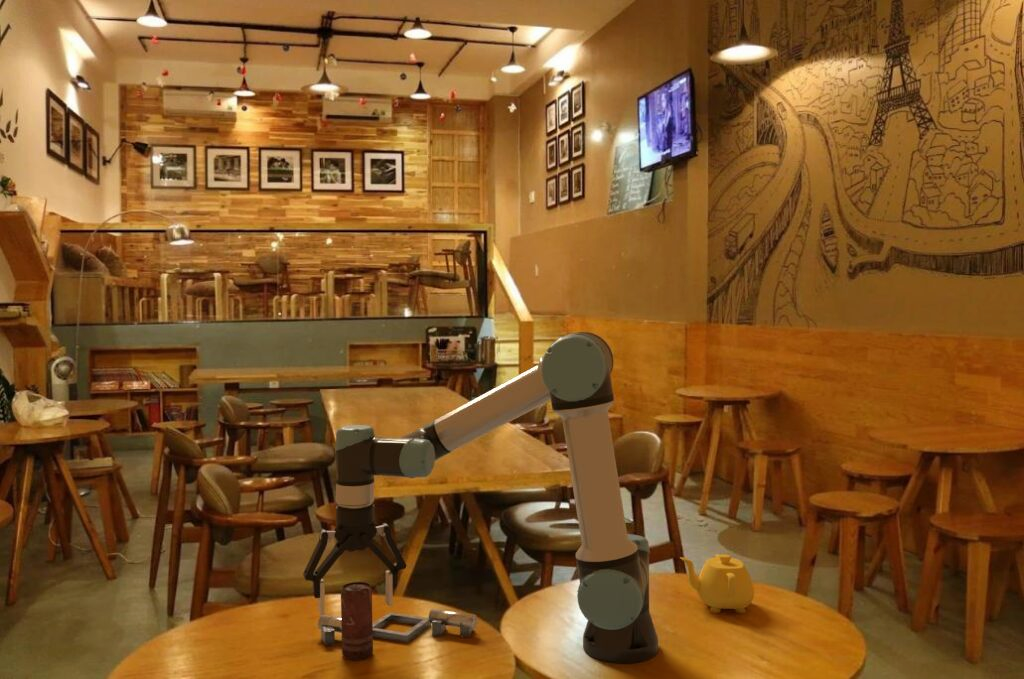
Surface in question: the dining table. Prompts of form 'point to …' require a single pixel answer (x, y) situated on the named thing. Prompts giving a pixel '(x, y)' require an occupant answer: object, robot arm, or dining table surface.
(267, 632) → the dining table surface
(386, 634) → the coupling rig
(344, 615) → the can
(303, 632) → the dining table surface
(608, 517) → the robot arm
